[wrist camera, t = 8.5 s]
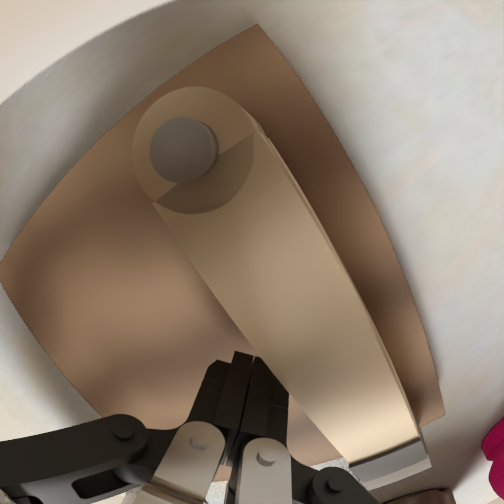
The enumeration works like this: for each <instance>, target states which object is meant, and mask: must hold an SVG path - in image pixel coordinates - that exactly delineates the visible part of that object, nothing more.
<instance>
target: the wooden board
mask: <svg viewBox="0 0 504 504" xmlns="http://www.w3.org/2000/svg"><path fill="white" fill-rule="evenodd" d="M194 86H195V87H206V88H211V89H214V90H217V91H220V92H222V93H224V94H225V95H227V96H228V97H230V98H231V99H233V100H234V101H235V102H236V103H237V104H239V105H240V106H241V107H242V108H243V109H244V110H245V111H247V112H248V113H249V114H250V115H251V116H252V117H253V118H254V119H255V120H256V121H257V122H258V123H259V124H260V125H261V127H262V128H263V130H264V132H265V135H266V137H268V138H269V139H270V140H271V142H272V143H273V145H274V146H275V148H276V150H277V151H278V153H279V154H280V156H281V157H282V159H283V160H284V162H285V164H286V165H287V167H288V168H289V170H290V172H291V173H292V175H293V176H294V178H295V180H296V181H297V183H298V185H299V186H300V188H301V190H302V191H303V193H304V195H305V196H306V198H307V200H308V201H309V203H310V205H311V206H312V208H313V210H314V211H315V213H316V215H317V217H318V218H319V220H320V222H321V224H322V225H323V227H324V229H325V231H326V232H327V234H328V236H329V238H330V240H331V241H332V243H333V245H334V247H335V249H336V250H337V252H338V254H339V256H340V258H341V260H342V261H343V263H344V265H345V267H346V269H347V271H348V273H349V275H350V277H351V278H352V280H353V282H354V284H355V286H356V288H357V290H358V292H359V294H360V296H361V298H362V300H363V302H364V304H365V306H366V308H367V310H368V312H369V314H370V316H371V318H372V320H373V322H374V324H375V327H376V329H377V331H378V333H379V335H380V337H381V339H382V341H383V344H384V346H385V348H386V350H387V352H388V354H389V357H390V359H391V361H392V363H393V366H394V368H395V370H396V373H397V375H398V377H399V379H400V382H401V384H402V387H403V389H404V391H405V394H406V396H407V399H408V401H409V404H410V406H411V409H412V412H413V415H414V418H415V421H416V424H417V427H418V431H419V434H420V437H421V440H422V443H423V446H424V448H425V451H426V454H427V457H428V458H427V459H425V460H423V461H421V462H418V463H416V464H414V465H411V466H409V467H407V468H404V469H402V470H399V471H397V472H394V473H391V474H389V475H386V476H383V477H380V478H377V479H374V480H371V481H368V482H365V483H363V482H362V481H361V480H360V479H359V478H358V479H359V482H360V483H361V484H362V485H363V486H364V487H365V488H366V489H367V490H368V491H369V490H372V489H376V488H379V487H382V486H385V485H388V484H390V483H393V482H396V481H399V480H401V479H404V478H407V477H409V476H412V475H414V474H416V473H419V472H421V471H424V470H426V469H428V468H430V467H432V466H431V462H430V459H429V455H428V452H427V449H426V445H425V442H424V439H423V436H422V433H421V429H420V427H422V426H424V425H426V424H428V423H430V422H432V421H434V420H436V419H438V418H440V417H442V416H443V415H445V410H444V405H443V401H442V396H441V392H440V387H439V383H438V379H437V375H436V371H435V368H434V364H433V360H432V357H431V353H430V350H429V346H428V343H427V340H426V336H425V333H424V330H423V327H422V324H421V321H420V318H419V315H418V312H417V309H416V306H415V303H414V300H413V297H412V295H411V292H410V289H409V287H408V284H407V281H406V279H405V276H404V274H403V271H402V268H401V266H400V263H399V261H398V259H397V256H396V254H395V251H394V249H393V247H392V244H391V242H390V240H389V238H388V235H387V233H386V231H385V229H384V226H383V224H382V222H381V220H380V218H379V216H378V214H377V211H376V209H375V207H374V205H373V203H372V201H371V199H370V197H369V195H368V193H367V191H366V189H365V187H364V185H363V183H362V181H361V179H360V178H359V176H358V174H357V172H356V170H355V168H354V166H353V165H352V163H351V161H350V159H349V157H348V156H347V154H346V152H345V150H344V148H343V147H342V145H341V143H340V142H339V140H338V138H337V136H336V135H335V133H334V131H333V130H332V128H331V126H330V125H329V123H328V122H327V120H326V118H325V117H324V115H323V114H322V112H321V110H320V109H319V107H318V106H317V104H316V103H315V101H314V100H313V98H312V97H311V95H310V94H309V92H308V91H307V89H306V88H305V86H304V85H303V83H302V82H301V80H300V79H299V78H298V76H297V75H296V73H295V72H294V70H293V69H292V68H291V66H290V65H289V64H288V62H287V61H286V59H285V58H284V57H283V55H282V54H281V53H280V51H279V50H278V49H277V48H276V46H275V45H274V44H273V42H272V41H271V40H270V39H269V37H268V36H267V35H266V34H265V32H264V31H263V30H262V29H261V27H260V26H259V25H258V24H257V25H255V26H253V27H251V28H249V29H247V30H245V31H244V32H242V33H240V34H238V35H237V36H235V37H233V38H231V39H230V40H228V41H226V42H225V43H223V44H221V45H220V46H218V47H216V48H215V49H213V50H212V51H210V52H209V53H207V54H205V55H204V56H202V57H201V58H199V59H198V60H196V61H195V62H193V63H192V64H191V65H189V66H188V67H186V68H185V69H183V70H182V71H181V72H179V73H178V74H176V75H175V76H174V77H172V78H171V79H170V80H168V81H167V82H166V83H164V84H163V85H162V86H160V87H159V88H158V89H157V90H155V91H154V92H153V93H151V94H150V95H149V96H148V97H147V98H145V99H144V100H143V101H142V102H140V103H139V104H138V105H137V106H136V107H135V108H133V109H132V110H131V111H130V112H129V113H128V114H126V115H125V116H124V117H123V118H122V119H121V120H120V121H119V122H117V123H116V124H115V125H114V126H113V127H112V128H111V129H110V130H109V131H108V132H107V133H106V134H105V135H104V136H103V137H102V138H100V139H99V140H98V141H97V142H96V143H95V144H94V145H93V146H92V147H91V148H90V149H89V150H88V151H87V153H86V154H85V155H84V156H83V157H82V158H81V159H80V160H79V161H78V162H77V163H76V164H75V165H74V166H73V167H72V168H71V170H70V171H69V172H68V173H67V174H66V175H65V176H64V177H63V179H62V180H61V181H60V182H59V183H58V184H57V186H56V187H55V188H54V189H53V190H52V192H51V193H50V194H49V195H48V196H47V198H46V199H45V200H44V201H43V203H42V204H41V205H40V206H39V208H38V209H37V210H36V212H35V213H34V214H33V216H32V217H31V218H30V220H29V221H28V222H27V224H26V225H25V226H24V228H23V229H22V231H21V232H20V234H19V235H18V236H17V238H16V239H15V241H14V242H13V244H12V245H11V247H10V248H9V250H8V251H7V253H6V255H5V256H4V258H3V259H2V261H1V263H0V282H1V284H2V286H3V288H4V290H5V291H6V293H7V295H8V297H9V298H10V300H11V302H12V303H13V305H14V307H15V308H16V310H17V311H18V313H19V315H20V316H21V318H22V319H23V321H24V322H25V324H26V325H27V327H28V328H29V330H30V331H31V333H32V334H33V336H34V337H35V338H36V340H37V341H38V343H39V344H40V345H41V347H42V348H43V350H44V351H45V352H46V354H47V355H48V356H49V357H50V359H51V360H52V361H53V363H54V364H55V365H56V366H57V368H58V369H59V370H60V371H61V373H62V374H63V375H64V376H65V377H66V379H67V380H68V381H69V382H70V383H71V384H72V386H73V387H74V388H75V389H76V390H77V391H78V392H79V393H80V395H81V396H82V397H83V398H84V399H85V400H86V401H87V402H88V403H89V404H90V405H91V406H92V407H93V408H94V409H95V410H96V411H97V412H98V413H99V414H100V415H101V416H102V417H103V418H104V417H107V416H111V415H114V414H127V415H131V416H133V417H136V418H137V419H139V420H140V421H141V422H142V423H143V424H144V425H145V427H146V428H150V429H160V430H169V429H174V428H177V427H179V426H181V425H182V424H183V423H184V422H185V421H186V420H187V418H188V416H189V414H190V411H191V409H192V406H193V403H194V401H195V398H196V396H197V393H198V391H199V388H200V386H201V383H202V381H203V379H204V376H205V373H206V371H207V368H208V366H210V365H211V364H212V363H213V362H215V361H216V360H217V359H218V360H221V361H224V362H228V363H231V362H232V358H233V355H234V352H235V350H236V351H239V352H243V353H246V354H250V355H254V357H255V356H258V357H260V356H259V354H258V353H257V352H256V351H255V349H254V348H253V347H252V345H251V344H250V343H249V341H248V340H247V339H246V337H245V336H244V335H243V333H242V332H241V331H240V329H239V328H238V327H237V325H236V324H235V323H234V321H233V320H232V319H231V317H230V316H229V315H228V313H227V312H226V311H225V309H224V308H223V306H222V305H221V304H220V302H219V301H218V300H217V298H216V297H215V295H214V294H213V293H212V291H211V290H210V288H209V287H208V286H207V284H206V283H205V281H204V280H203V278H202V277H201V276H200V274H199V273H198V271H197V270H196V268H195V267H194V266H193V264H192V263H191V261H190V260H189V258H188V257H187V255H186V254H185V252H184V251H183V250H182V248H181V247H180V245H179V244H178V242H177V241H176V239H175V238H174V236H173V235H172V233H171V232H170V230H169V229H168V227H167V226H166V224H165V223H164V221H163V220H162V218H161V216H160V215H159V213H158V212H157V210H156V209H155V207H154V206H153V204H152V203H153V202H155V201H154V200H152V199H151V198H150V197H149V196H148V195H147V194H146V192H145V191H144V190H143V188H142V187H141V185H140V183H139V181H138V179H137V177H136V174H135V171H134V167H133V162H132V143H133V138H134V134H135V131H136V128H137V126H138V124H139V122H140V120H141V118H142V116H143V115H144V113H145V112H146V111H147V110H148V108H149V107H150V106H151V105H152V104H153V103H154V102H156V101H157V100H158V99H159V98H161V97H162V96H164V95H166V94H168V93H169V92H172V91H174V90H177V89H181V88H185V87H194ZM253 360H254V358H253ZM287 448H288V451H289V453H290V454H291V455H292V457H293V458H294V459H295V460H297V461H298V462H300V463H301V464H303V465H306V466H308V467H309V466H313V465H317V464H321V463H324V462H328V461H331V460H335V459H338V458H342V457H343V456H342V455H341V454H340V453H339V452H338V450H337V449H336V448H335V447H334V446H333V445H332V444H331V442H330V441H329V440H328V439H327V438H326V437H325V436H324V434H323V433H322V432H321V431H320V430H319V429H318V427H317V426H316V425H315V424H314V423H313V421H312V420H311V419H310V418H309V417H308V416H307V414H306V413H305V412H304V411H303V410H302V408H301V407H300V406H299V405H298V403H297V402H296V401H295V400H294V399H293V397H292V396H291V395H290V394H289V408H288V426H287ZM227 457H228V456H227ZM226 461H227V458H226ZM226 461H225V463H224V465H220V466H219V468H218V471H217V473H216V476H215V478H214V480H213V481H212V482H217V481H228V480H229V479H230V475H231V470H232V467H229V466H225V465H226Z"/></svg>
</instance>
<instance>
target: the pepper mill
mask: <svg viewBox="0 0 504 504" xmlns="http://www.w3.org/2000/svg"><path fill="white" fill-rule="evenodd" d="M482 449H483V452H484V454H485V457H486V459H487V460H489V461H493V464H492V466H491V469H490V472H489V482H490V484H491V486H492V488H493V490H494V491H495V492H496V494H497V495H498V496H499V497H501V498H502V499H503V500H504V418H503V419H502V420H501V421H500V422H499V423H498V424H497V425H495V426H494V427H493V429H492V430H491V431H490V432H489V433H488V434H487V436H486V437H485V439H484V440H483V443H482Z"/></svg>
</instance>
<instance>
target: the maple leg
mask: <svg viewBox="0 0 504 504" xmlns="http://www.w3.org/2000/svg"><path fill="white" fill-rule="evenodd" d="M132 162H133V167H134V171H135V174H136V177H137V179H138V181H139V183H140V185H141V187H142V188H143V190H144V191H145V192H146V194H147V195H148V196H149V197H150V198H151V199H152V200H154V201H155V202H153V203H152V204H153V206H154V207H155V209H156V210H157V212H158V213H159V215H160V216H161V218H162V220H163V221H164V223H165V224H166V226H167V227H168V229H169V230H170V232H171V233H172V235H173V236H174V238H175V239H176V241H177V242H178V244H179V245H180V247H181V248H182V250H183V251H184V252H185V254H186V255H187V257H188V258H189V260H190V261H191V263H192V264H193V266H194V267H195V268H196V270H197V271H198V273H199V274H200V276H201V277H202V278H203V280H204V281H205V283H206V284H207V286H208V287H209V288H210V290H211V291H212V293H213V294H214V295H215V297H216V298H217V300H218V301H219V302H220V304H221V305H222V306H223V308H224V309H225V311H226V312H227V313H228V315H229V316H230V317H231V319H232V320H233V321H234V323H235V324H236V325H237V327H238V328H239V329H240V331H241V332H242V333H243V335H244V336H245V337H246V339H247V340H248V341H249V343H250V344H251V345H252V347H253V348H254V349H255V351H256V352H257V353H258V354H259V356H260V357H261V358H262V360H263V361H264V362H265V364H266V365H267V366H268V367H269V369H270V370H271V371H272V372H273V374H274V375H275V376H276V378H277V379H278V380H279V381H280V383H281V384H282V385H283V386H284V388H285V389H286V390H287V391H288V392H289V394H290V395H291V396H292V397H293V399H294V400H295V401H296V402H297V403H298V405H299V406H300V407H301V408H302V410H303V411H304V412H305V413H306V414H307V416H308V417H309V418H310V419H311V420H312V421H313V423H314V424H315V425H316V426H317V427H318V429H319V430H320V431H321V432H322V433H323V434H324V436H325V437H326V438H327V439H328V440H329V441H330V442H331V444H332V445H333V446H334V447H335V448H336V449H337V450H338V452H339V453H340V454H341V455H342V456H343V457H344V458H345V459H346V461H347V462H348V463H349V469H350V470H351V471H352V472H353V473H354V474H355V475H356V476H357V477H358V478H359V479H360V480H361V481H362V482H363V483H365V482H368V481H371V480H374V479H377V478H380V477H383V476H386V475H389V474H391V473H394V472H397V471H399V470H402V469H404V468H407V467H409V466H411V465H414V464H416V463H418V462H421V461H423V460H425V459H427V458H428V457H427V454H426V451H425V448H424V446H423V443H422V440H421V437H420V434H419V431H418V427H417V424H416V421H415V418H414V415H413V412H412V409H411V406H410V404H409V401H408V399H407V396H406V394H405V391H404V389H403V387H402V384H401V382H400V379H399V377H398V375H397V373H396V370H395V368H394V366H393V363H392V361H391V359H390V357H389V354H388V352H387V350H386V348H385V346H384V344H383V341H382V339H381V337H380V335H379V333H378V331H377V329H376V327H375V324H374V322H373V320H372V318H371V316H370V314H369V312H368V310H367V308H366V306H365V304H364V302H363V300H362V298H361V296H360V294H359V292H358V290H357V288H356V286H355V284H354V282H353V280H352V278H351V277H350V275H349V273H348V271H347V269H346V267H345V265H344V263H343V261H342V260H341V258H340V256H339V254H338V252H337V250H336V249H335V247H334V245H333V243H332V241H331V240H330V238H329V236H328V234H327V232H326V231H325V229H324V227H323V225H322V224H321V222H320V220H319V218H318V217H317V215H316V213H315V211H314V210H313V208H312V206H311V205H310V203H309V201H308V200H307V198H306V196H305V195H304V193H303V191H302V190H301V188H300V186H299V185H298V183H297V181H296V180H295V178H294V176H293V175H292V173H291V172H290V170H289V168H288V167H287V165H286V164H285V162H284V160H283V159H282V157H281V156H280V154H279V153H278V151H277V150H276V148H275V146H274V145H273V143H272V142H271V140H270V139H269V138H268V137H266V135H265V132H264V130H263V128H262V127H261V125H260V124H259V123H258V122H257V121H256V120H255V119H254V118H253V117H252V116H251V115H250V114H249V113H248V112H247V111H245V110H244V109H243V108H242V107H241V106H240V105H239V104H237V103H236V102H235V101H234V100H233V99H231V98H230V97H228V96H227V95H225V94H224V93H222V92H220V91H217V90H214V89H211V88H206V87H195V86H194V87H185V88H181V89H177V90H174V91H172V92H169V93H168V94H166V95H164V96H162V97H161V98H159V99H158V100H157V101H156V102H154V103H153V104H152V105H151V106H150V107H149V108H148V110H147V111H146V112H145V113H144V115H143V116H142V118H141V120H140V122H139V124H138V126H137V128H136V131H135V134H134V138H133V143H132Z"/></svg>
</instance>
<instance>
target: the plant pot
mask: <svg viewBox="0 0 504 504" xmlns="http://www.w3.org/2000/svg"><path fill="white" fill-rule="evenodd" d="M385 504H456V502H455V499H454V496H453V493H452V491H451V490H449V489H445V490H443V491H442V492H441V491H438V490H437V489H434V490H429V491H425V492H421V493H415V494H411V495H408V496H405V497H401V498H398V499H396V500H394V501H391V502H388V503H385Z"/></svg>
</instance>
